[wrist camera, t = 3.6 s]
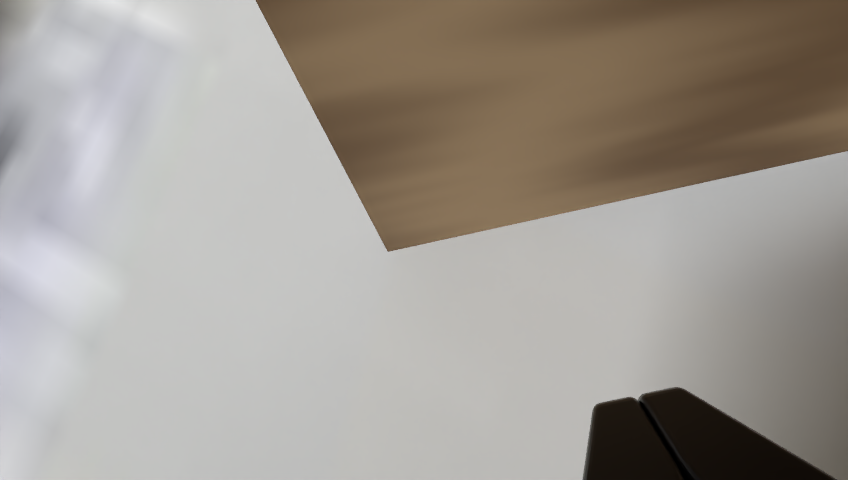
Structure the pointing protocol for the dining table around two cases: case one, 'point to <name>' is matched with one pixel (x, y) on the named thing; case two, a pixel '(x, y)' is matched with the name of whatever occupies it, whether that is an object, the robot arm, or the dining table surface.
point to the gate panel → (559, 99)
